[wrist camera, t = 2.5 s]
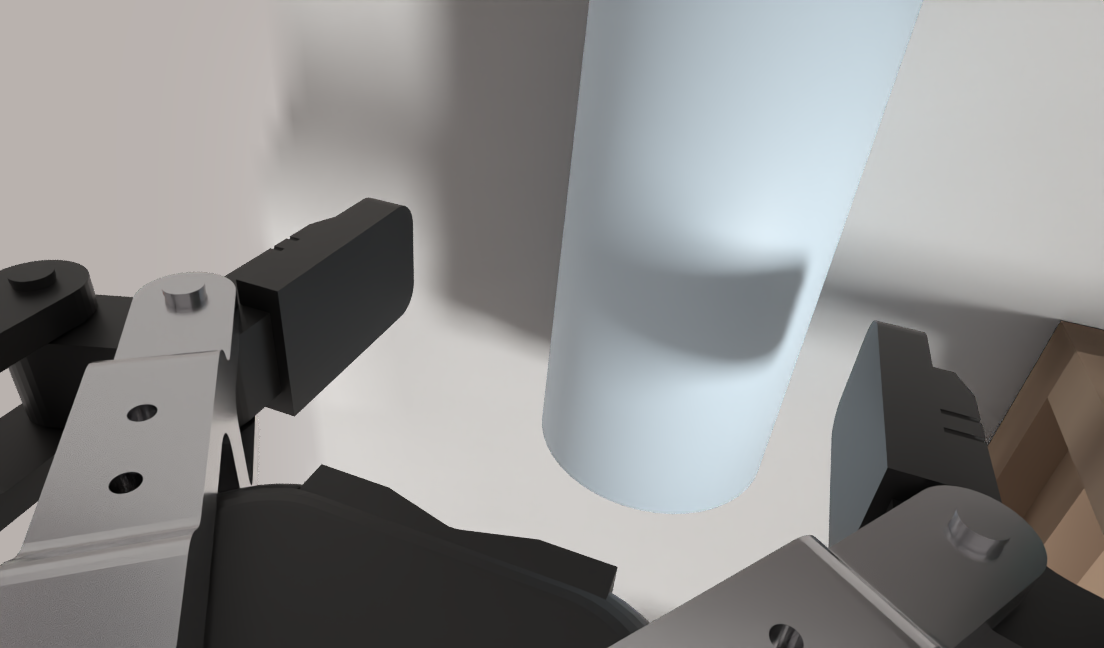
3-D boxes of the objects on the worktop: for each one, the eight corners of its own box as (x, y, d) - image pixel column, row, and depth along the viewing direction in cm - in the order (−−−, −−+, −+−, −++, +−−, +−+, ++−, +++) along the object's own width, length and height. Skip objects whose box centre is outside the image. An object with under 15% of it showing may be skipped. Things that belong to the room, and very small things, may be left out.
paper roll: (709, 368, 20) (796, 513, 16) (525, 376, 19) (565, 533, 15) (825, -62, 14) (1013, -16, 10) (568, -85, 13) (654, -46, 9)
